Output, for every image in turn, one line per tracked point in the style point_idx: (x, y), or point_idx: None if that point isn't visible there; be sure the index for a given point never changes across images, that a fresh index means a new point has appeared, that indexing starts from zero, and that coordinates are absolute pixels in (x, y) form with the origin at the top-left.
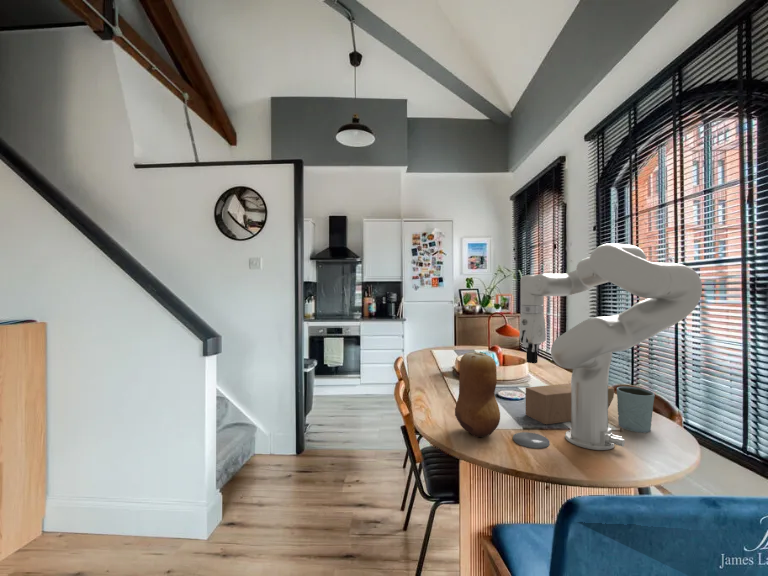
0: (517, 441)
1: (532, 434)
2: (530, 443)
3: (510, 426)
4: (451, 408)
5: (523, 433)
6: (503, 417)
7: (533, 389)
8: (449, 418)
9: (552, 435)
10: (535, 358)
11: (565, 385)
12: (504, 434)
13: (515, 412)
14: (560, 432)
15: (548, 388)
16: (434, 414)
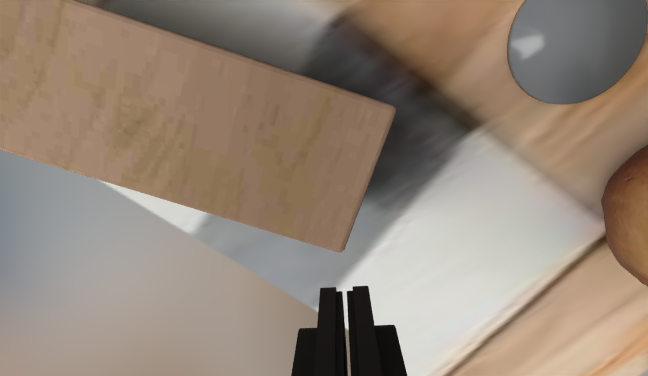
0: (637, 54)
1: (529, 60)
2: (623, 11)
3: (490, 167)
4: (484, 372)
5: (544, 87)
6: (426, 232)
7: (346, 207)
8: (574, 322)
9: (457, 21)
10: (366, 318)
11: (108, 150)
12: (579, 134)
13: None
14: (402, 19)
15: (255, 172)
16: (576, 367)
